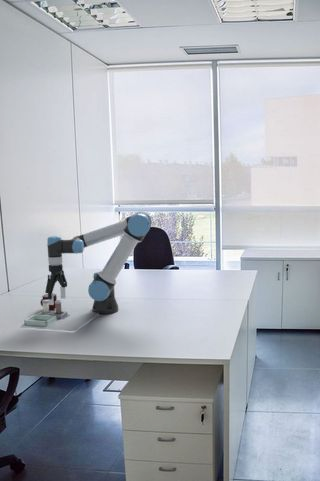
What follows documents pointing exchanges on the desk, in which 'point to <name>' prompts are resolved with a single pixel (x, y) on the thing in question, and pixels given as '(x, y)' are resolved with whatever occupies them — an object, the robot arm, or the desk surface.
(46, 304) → the fuse
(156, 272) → the desk surface
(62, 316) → the block
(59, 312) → the fuse
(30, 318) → the tray
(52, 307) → the mug
